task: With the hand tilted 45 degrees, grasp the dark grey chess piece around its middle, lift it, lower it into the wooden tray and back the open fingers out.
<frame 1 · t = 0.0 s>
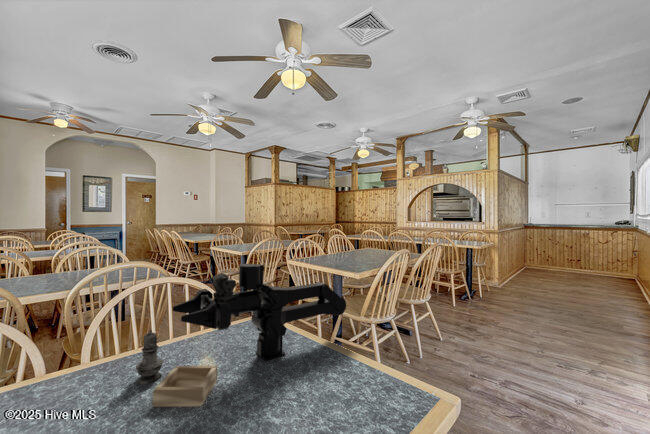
hand: (176, 313, 70), 17 cm above the table, tool horizontal, fingers open, 9 cm apart
wooden tray: (187, 392, 66), on the table
dark grey chess piece: (149, 379, 72), on the table
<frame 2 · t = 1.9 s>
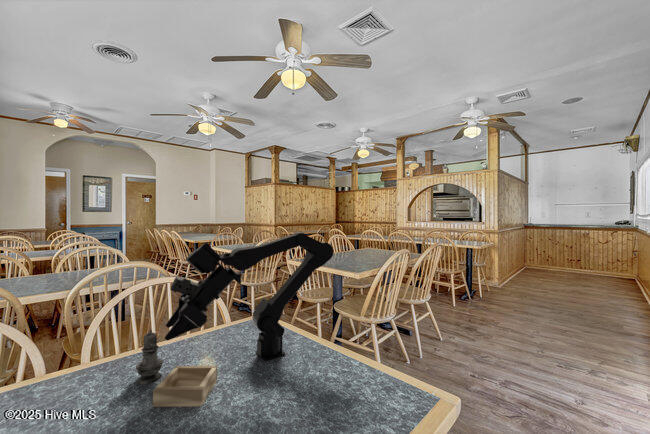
hand: (166, 332, 74), 11 cm above the table, tool tilted 45°, fingers open, 9 cm apart
nothing on the table moved.
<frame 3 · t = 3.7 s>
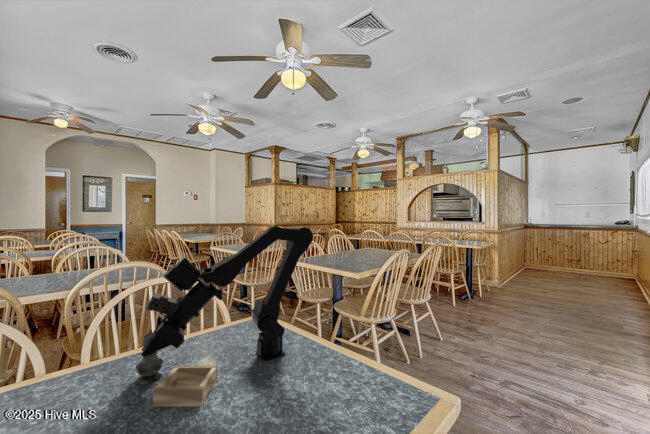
hand: (143, 352, 71), 7 cm above the table, tool tilted 45°, fingers closed on dark grey chess piece, 4 cm apart
dark grey chess piece: (149, 379, 72), on the table, touching gripper
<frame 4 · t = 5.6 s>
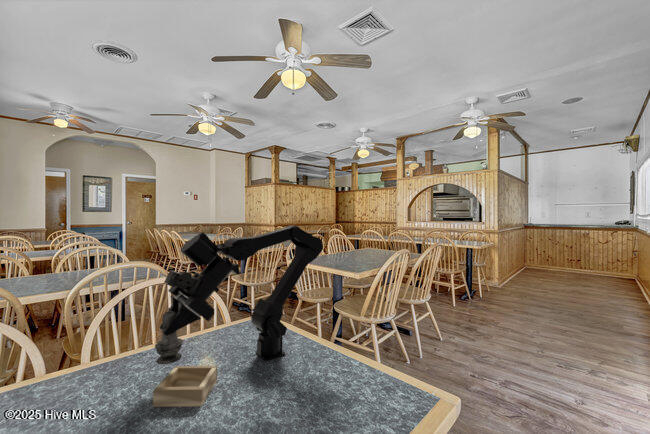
hand: (162, 331, 67), 13 cm above the table, tool tilted 45°, fingers closed on dark grey chess piece, 4 cm apart
dark grey chess piece: (169, 359, 68), point 6 cm above the table, touching gripper
when the fingers open (8 cm above the table, at t = 7.6 s): dark grey chess piece stays where it is, resting on wooden tray.
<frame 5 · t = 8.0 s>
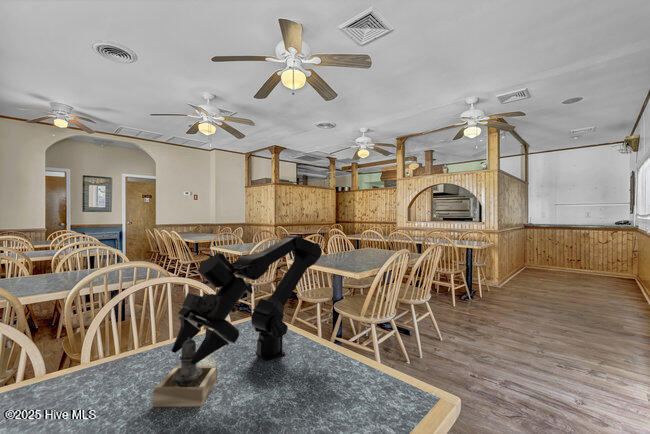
hand: (182, 357, 65), 8 cm above the table, tool tilted 45°, fingers open, 8 cm apart
dark grey chess piece: (188, 390, 66), resting on wooden tray
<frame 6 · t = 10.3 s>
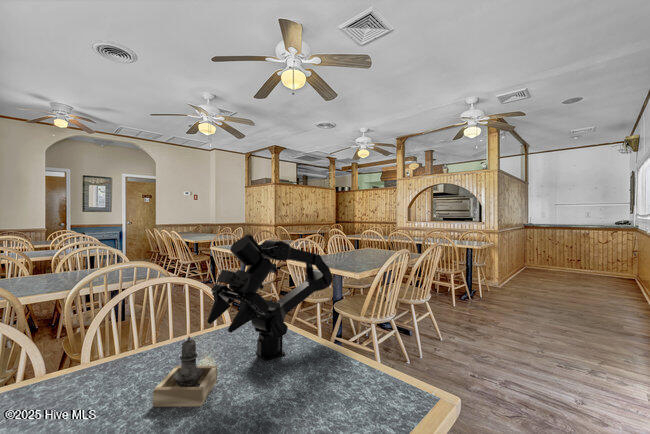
hand: (218, 327, 72), 13 cm above the table, tool tilted 45°, fingers open, 9 cm apart
nothing on the table moved.
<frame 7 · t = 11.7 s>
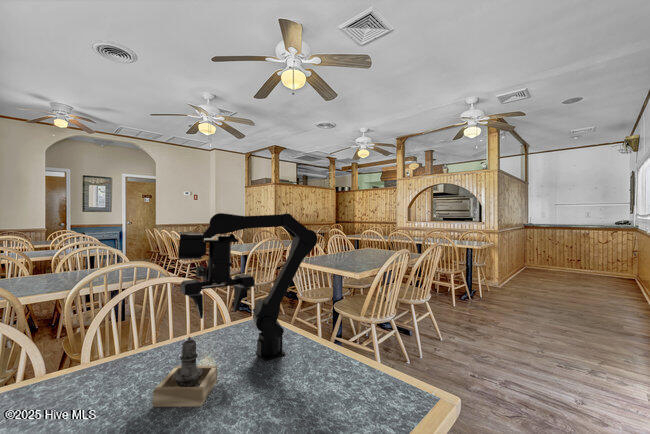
hand: (218, 315, 80), 13 cm above the table, tool pointing down, fingers open, 9 cm apart
nothing on the table moved.
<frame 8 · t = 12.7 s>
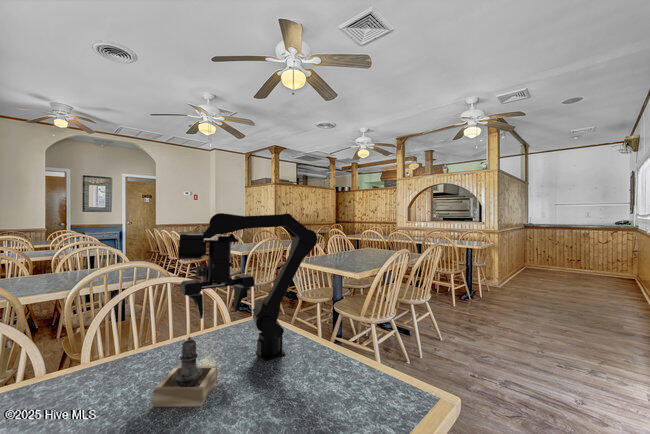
hand: (218, 315, 80), 13 cm above the table, tool pointing down, fingers open, 9 cm apart
nothing on the table moved.
at the end: dark grey chess piece 0.1 cm off-centre on the wooden tray, point 0.4 cm above the wooden tray's base; dark grey chess piece tilted 0°; the gripper is holding nothing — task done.
